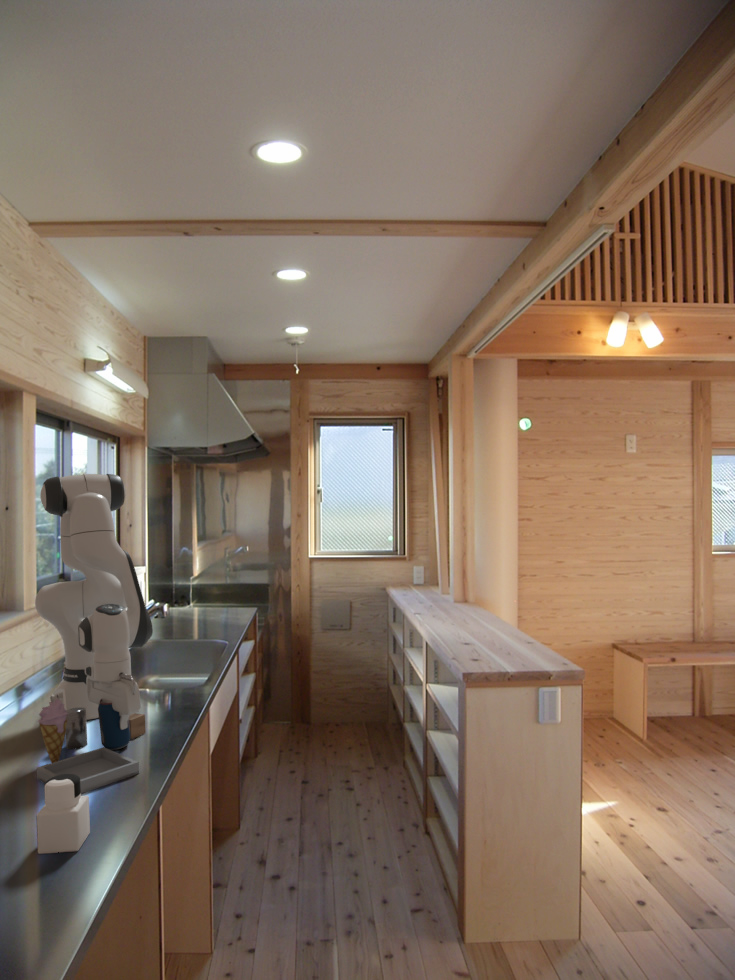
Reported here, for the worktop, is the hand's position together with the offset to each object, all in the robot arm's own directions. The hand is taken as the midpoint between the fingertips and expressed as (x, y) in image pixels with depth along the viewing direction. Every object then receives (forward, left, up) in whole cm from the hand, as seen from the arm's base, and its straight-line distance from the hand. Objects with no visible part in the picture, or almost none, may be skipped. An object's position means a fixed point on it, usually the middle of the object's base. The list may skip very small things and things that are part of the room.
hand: (114, 725), depth 180 cm
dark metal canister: (-10, -5, -6) cm, 12 cm away
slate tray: (+12, -13, -6) cm, 19 cm away
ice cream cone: (-2, -14, -6) cm, 16 cm away
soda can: (0, 0, -5) cm, 5 cm away
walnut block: (-6, +8, -6) cm, 11 cm away
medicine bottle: (+39, -31, -6) cm, 51 cm away
